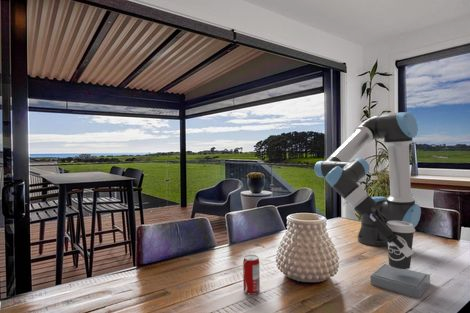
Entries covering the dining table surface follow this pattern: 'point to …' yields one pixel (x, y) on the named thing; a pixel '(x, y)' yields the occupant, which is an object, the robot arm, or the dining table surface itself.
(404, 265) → the coffee cup
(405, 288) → the slate base
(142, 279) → the dining table surface
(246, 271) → the soda can
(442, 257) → the dining table surface
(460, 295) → the dining table surface
